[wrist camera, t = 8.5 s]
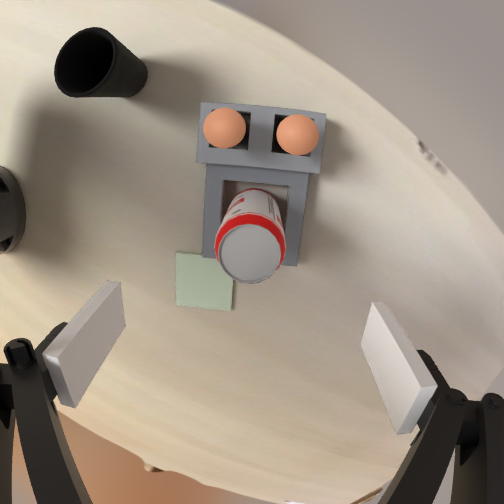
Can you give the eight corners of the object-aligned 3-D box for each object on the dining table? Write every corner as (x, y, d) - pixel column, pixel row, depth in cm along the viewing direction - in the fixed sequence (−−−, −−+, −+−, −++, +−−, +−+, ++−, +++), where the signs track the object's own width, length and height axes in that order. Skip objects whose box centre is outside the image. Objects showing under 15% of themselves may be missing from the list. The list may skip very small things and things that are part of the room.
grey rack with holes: (198, 250, 43) (192, 261, 39) (206, 105, 37) (200, 102, 33) (302, 259, 43) (305, 271, 39) (320, 116, 37) (326, 113, 33)
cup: (166, 65, 35) (131, 41, 24) (135, 114, 37) (90, 109, 26) (122, 43, 34) (78, 18, 22) (93, 90, 36) (42, 81, 25)
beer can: (223, 226, 42) (202, 277, 27) (237, 180, 40) (222, 207, 25) (269, 240, 42) (273, 298, 27) (285, 195, 40) (299, 231, 25)
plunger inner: (214, 145, 37) (201, 147, 30) (216, 113, 36) (204, 106, 28) (247, 147, 37) (243, 150, 30) (250, 115, 36) (247, 109, 28)
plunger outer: (272, 150, 37) (275, 152, 30) (275, 117, 36) (279, 111, 28) (305, 153, 37) (316, 157, 30) (308, 121, 36) (320, 117, 28)
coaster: (177, 302, 46) (176, 304, 46) (176, 251, 43) (175, 253, 43) (231, 308, 46) (230, 310, 46) (234, 257, 43) (234, 258, 43)
